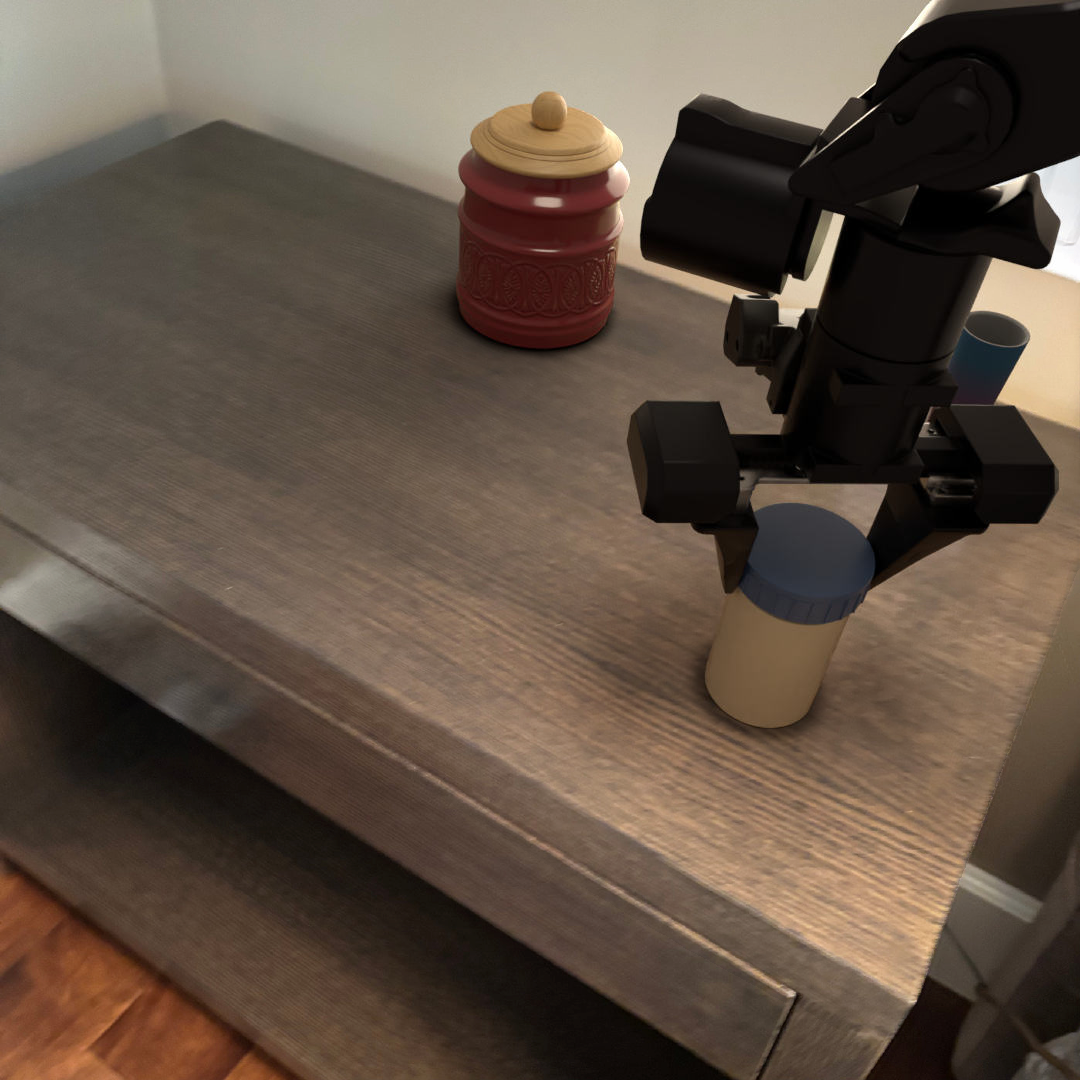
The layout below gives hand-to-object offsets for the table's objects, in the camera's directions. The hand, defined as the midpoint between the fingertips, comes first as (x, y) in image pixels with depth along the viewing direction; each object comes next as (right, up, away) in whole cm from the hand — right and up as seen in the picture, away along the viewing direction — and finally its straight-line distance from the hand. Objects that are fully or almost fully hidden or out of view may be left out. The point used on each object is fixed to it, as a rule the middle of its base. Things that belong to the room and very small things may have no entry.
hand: (793, 587), depth 53 cm
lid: (0, +2, -2) cm, 2 cm away
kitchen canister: (-14, +22, +33) cm, 41 cm away
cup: (+17, +9, +23) cm, 30 cm away
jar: (-1, -6, +5) cm, 8 cm away
